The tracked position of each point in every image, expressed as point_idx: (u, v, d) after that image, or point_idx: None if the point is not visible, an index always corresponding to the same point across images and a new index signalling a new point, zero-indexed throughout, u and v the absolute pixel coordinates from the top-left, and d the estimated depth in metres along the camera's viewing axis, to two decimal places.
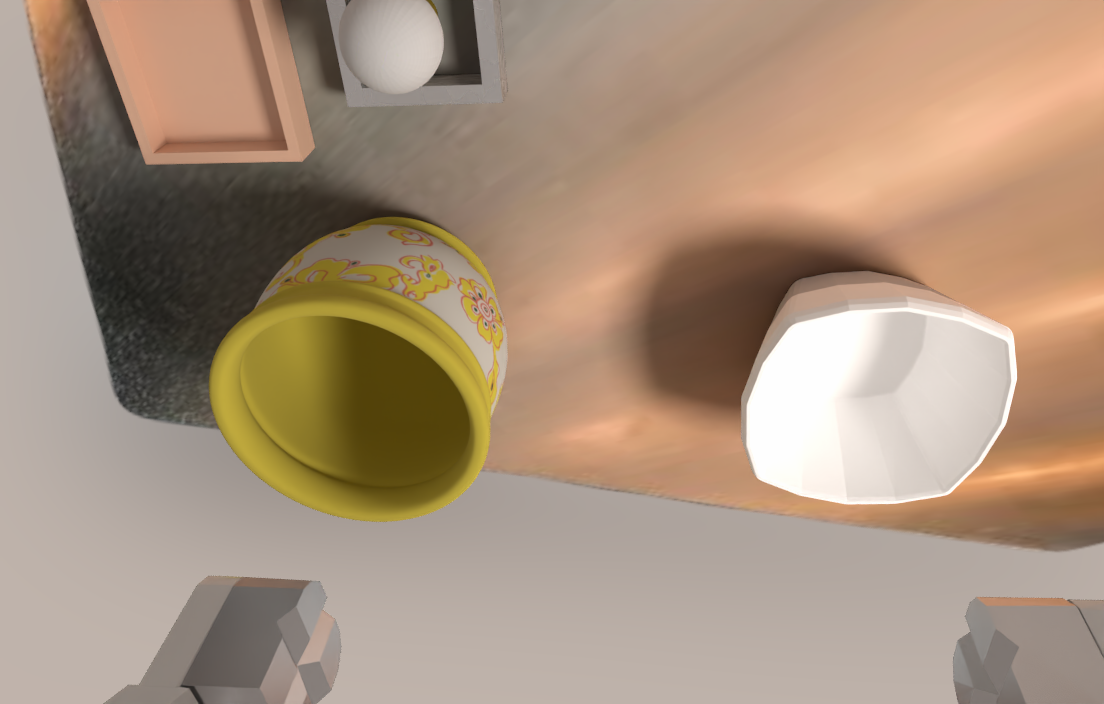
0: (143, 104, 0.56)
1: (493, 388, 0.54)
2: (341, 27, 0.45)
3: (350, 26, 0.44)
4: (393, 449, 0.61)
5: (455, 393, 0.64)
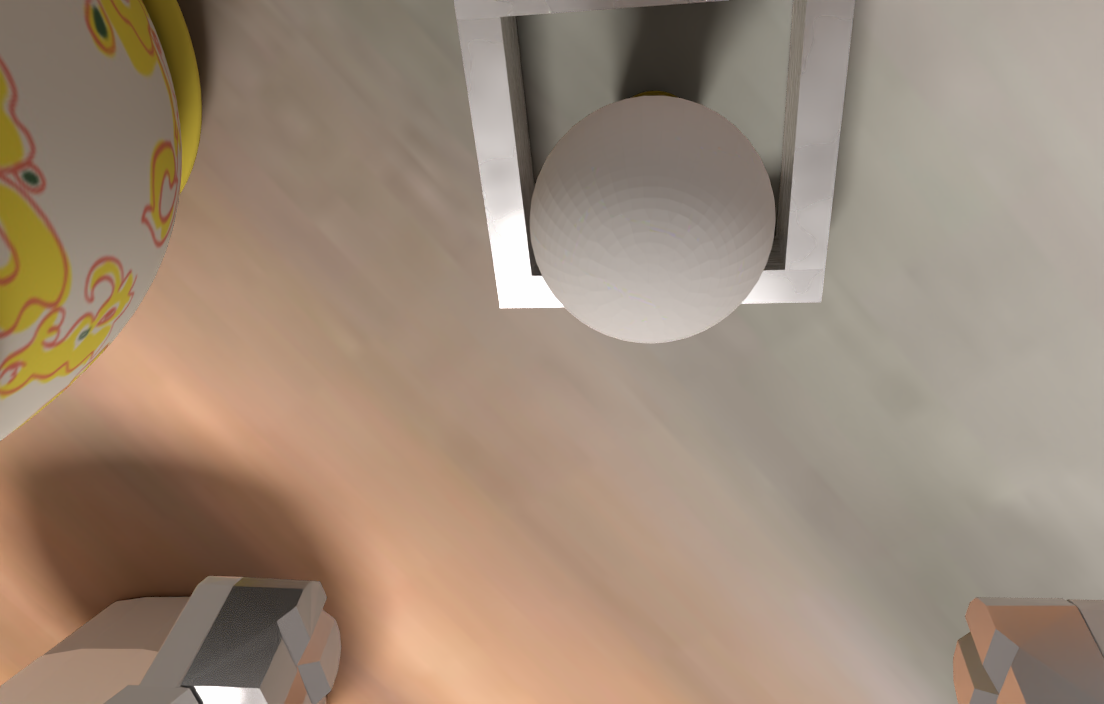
0: None
1: None
2: (701, 156, 0.17)
3: (710, 203, 0.17)
4: None
5: None
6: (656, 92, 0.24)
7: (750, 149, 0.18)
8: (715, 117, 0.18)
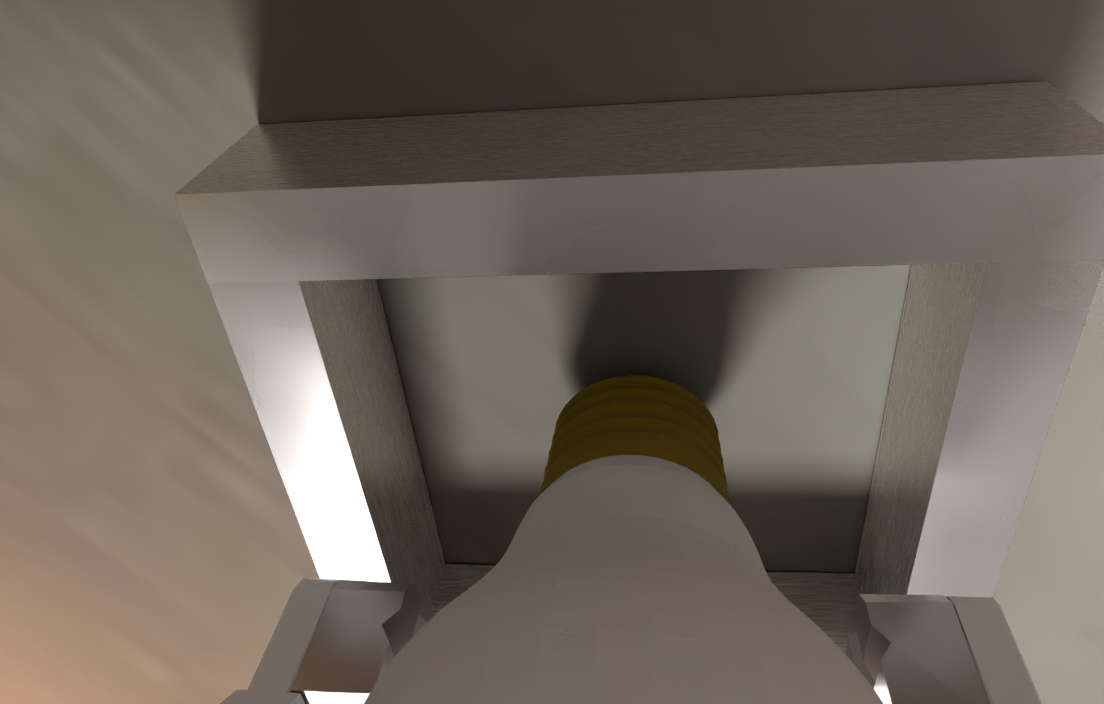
0: None
1: None
2: None
3: None
4: None
5: None
6: (640, 381, 0.12)
7: None
8: None
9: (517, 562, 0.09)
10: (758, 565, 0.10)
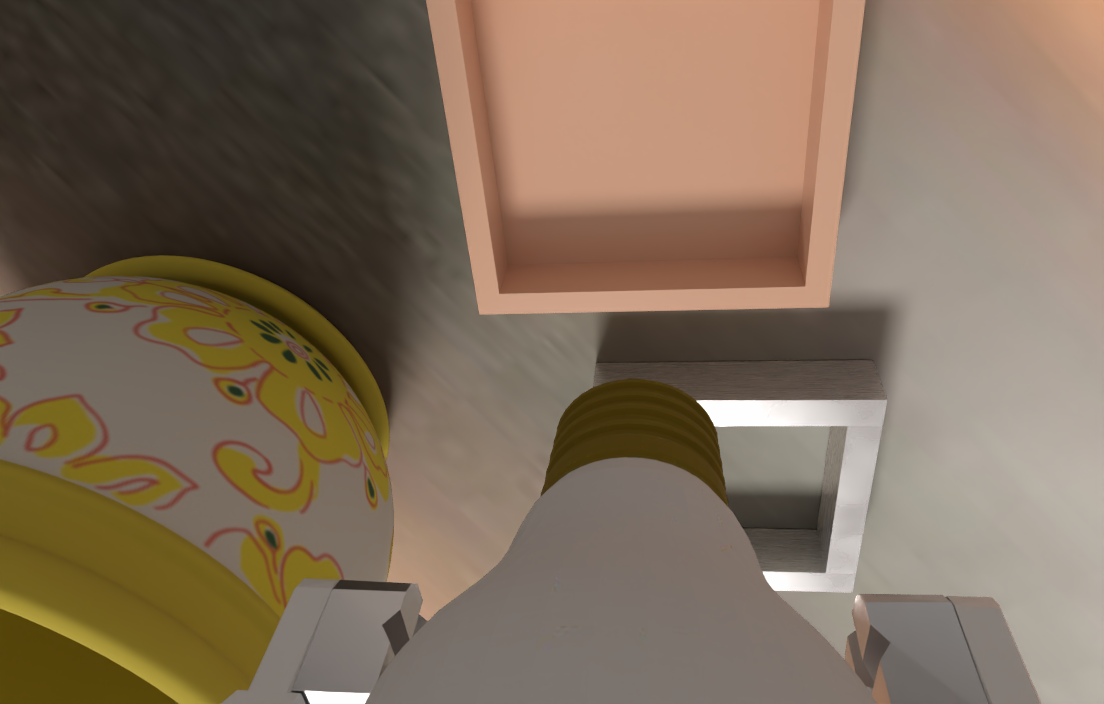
0: None
1: None
2: None
3: None
4: None
5: None
6: (640, 385, 0.12)
7: None
8: None
9: (517, 562, 0.09)
10: (754, 566, 0.10)
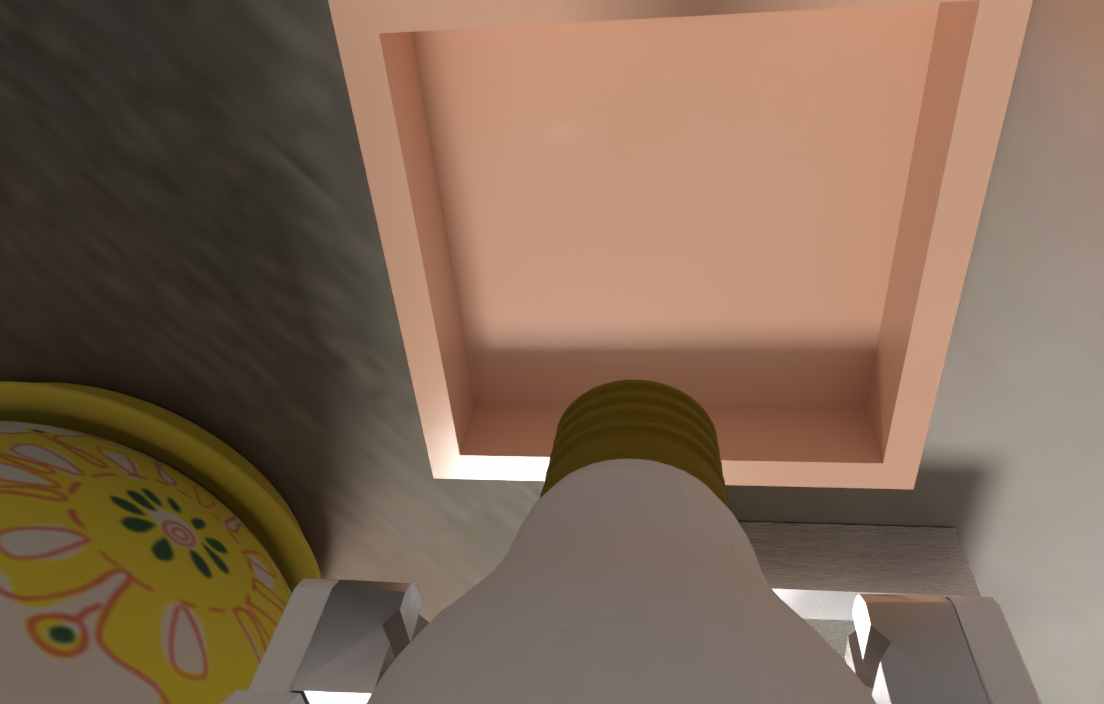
0: None
1: None
2: None
3: None
4: None
5: None
6: (640, 386, 0.12)
7: None
8: None
9: (516, 564, 0.09)
10: (755, 567, 0.10)
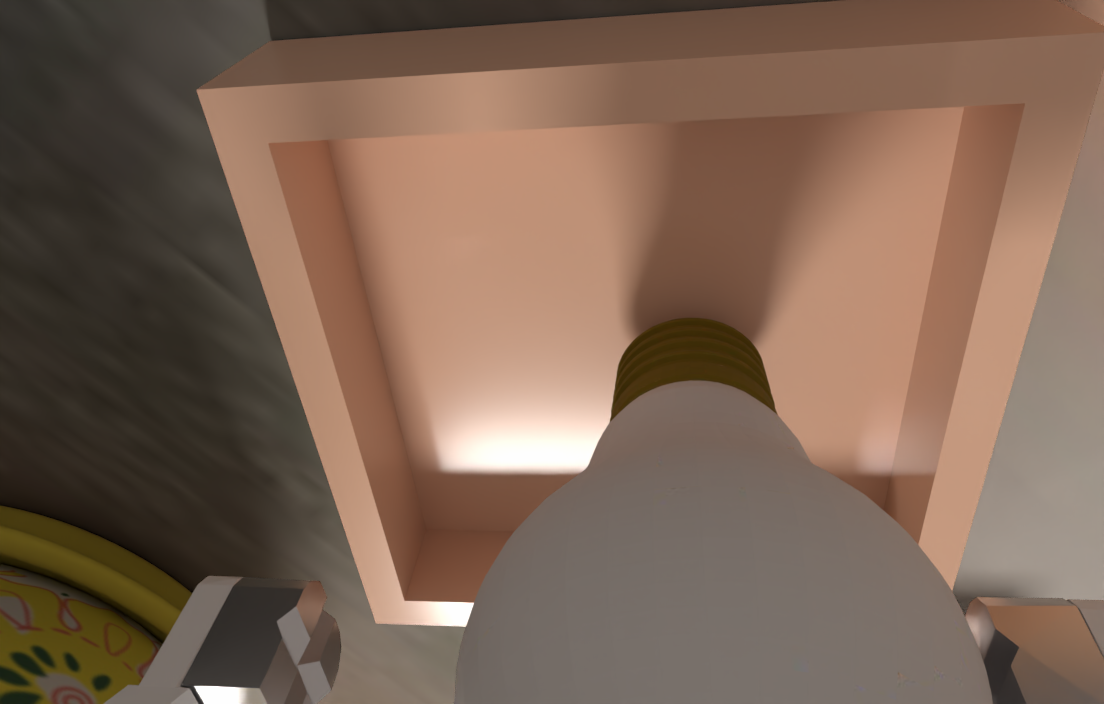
0: None
1: None
2: None
3: None
4: None
5: None
6: (697, 323, 0.14)
7: (952, 621, 0.08)
8: (871, 551, 0.08)
9: (612, 456, 0.10)
10: None
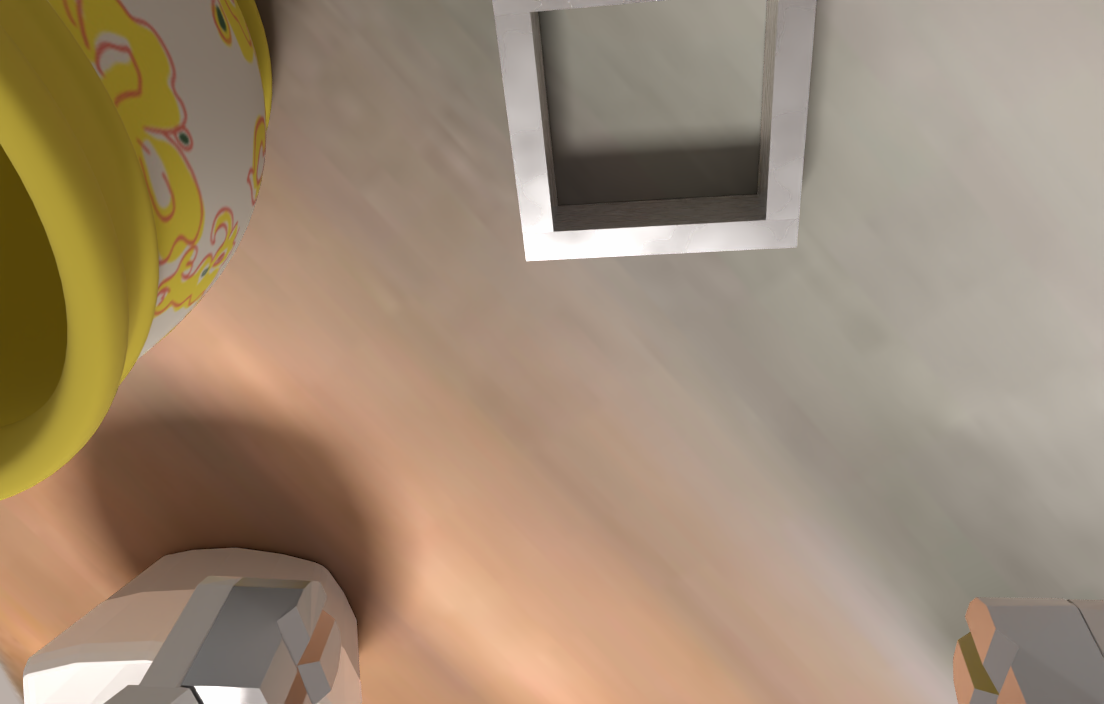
0: None
1: None
2: None
3: None
4: None
5: None
6: None
7: None
8: None
9: None
10: None
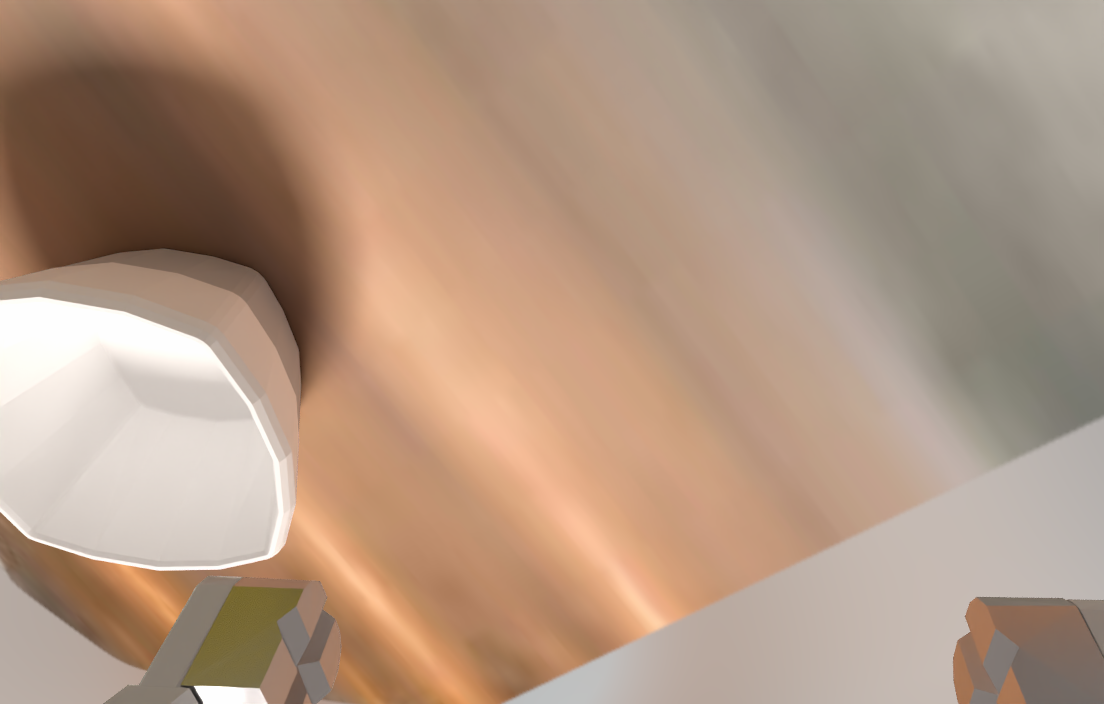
0: None
1: None
2: None
3: None
4: None
5: None
6: None
7: None
8: None
9: None
10: None
